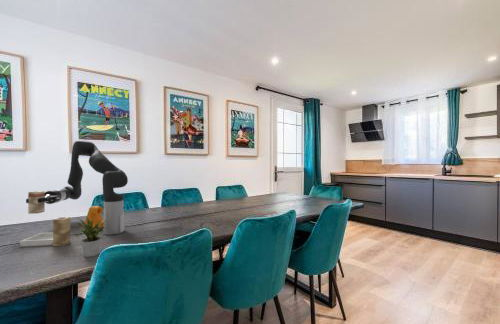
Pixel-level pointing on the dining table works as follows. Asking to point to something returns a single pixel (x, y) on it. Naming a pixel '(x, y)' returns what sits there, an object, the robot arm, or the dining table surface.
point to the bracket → (97, 213)
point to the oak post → (61, 231)
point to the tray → (38, 240)
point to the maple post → (36, 202)
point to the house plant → (91, 238)
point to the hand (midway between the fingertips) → (32, 200)
